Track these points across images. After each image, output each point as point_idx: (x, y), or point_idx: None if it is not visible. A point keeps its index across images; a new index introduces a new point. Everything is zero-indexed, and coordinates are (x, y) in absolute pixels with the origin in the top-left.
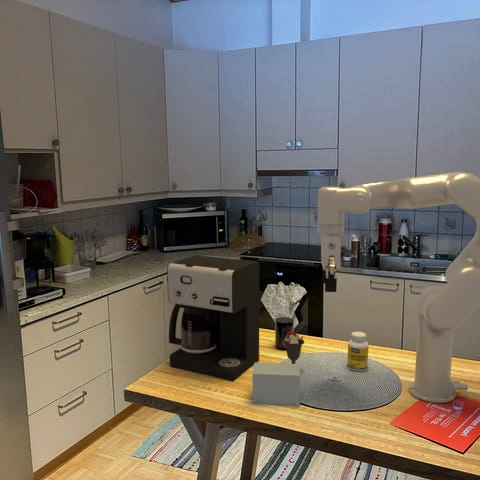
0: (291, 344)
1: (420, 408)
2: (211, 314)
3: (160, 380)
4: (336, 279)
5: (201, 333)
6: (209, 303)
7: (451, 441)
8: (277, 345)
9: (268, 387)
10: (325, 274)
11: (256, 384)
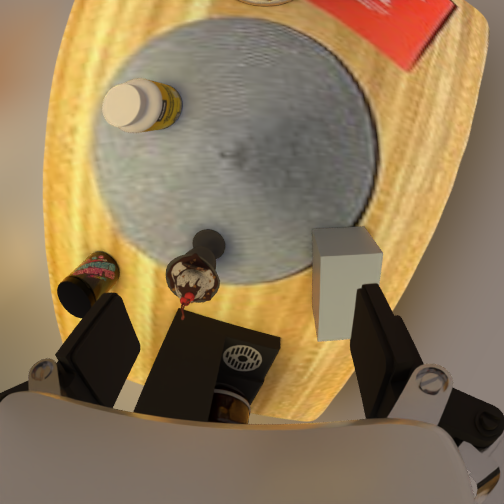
0: (216, 284)
1: (339, 2)
2: None
3: (288, 407)
4: (411, 353)
5: None
6: None
7: (433, 3)
8: (114, 283)
9: None
10: (112, 382)
11: None
